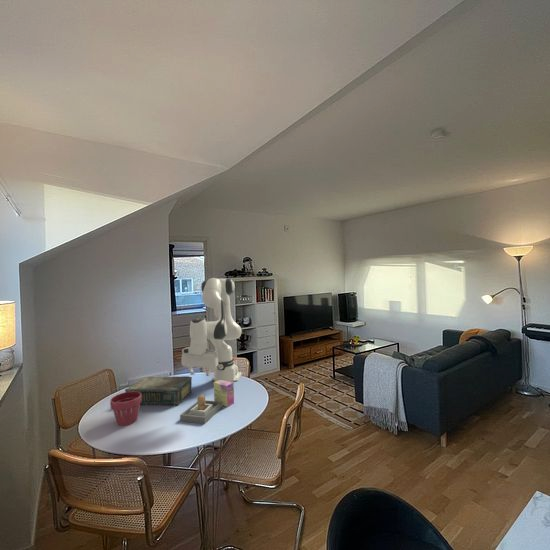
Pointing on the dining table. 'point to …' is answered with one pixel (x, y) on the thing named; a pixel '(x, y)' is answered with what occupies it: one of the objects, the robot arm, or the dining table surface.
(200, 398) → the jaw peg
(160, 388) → the metal box
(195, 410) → the housing
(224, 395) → the box
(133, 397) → the plant pot
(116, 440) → the dining table surface
